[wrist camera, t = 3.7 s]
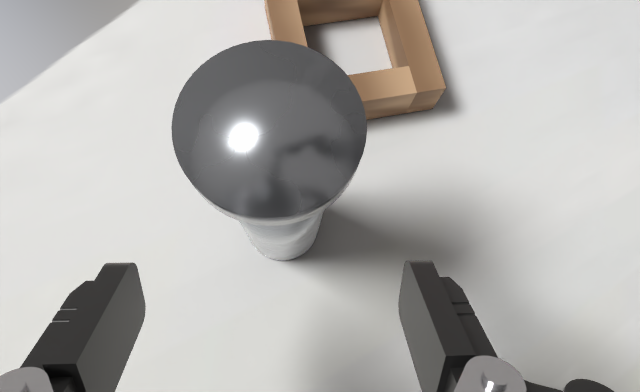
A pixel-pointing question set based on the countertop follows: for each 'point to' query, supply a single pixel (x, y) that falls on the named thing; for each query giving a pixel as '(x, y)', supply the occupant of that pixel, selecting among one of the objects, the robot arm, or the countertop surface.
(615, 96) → the countertop surface
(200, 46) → the countertop surface
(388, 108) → the collar block
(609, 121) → the countertop surface
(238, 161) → the pin
